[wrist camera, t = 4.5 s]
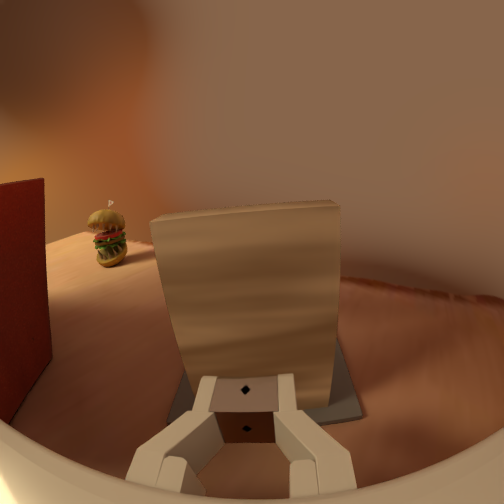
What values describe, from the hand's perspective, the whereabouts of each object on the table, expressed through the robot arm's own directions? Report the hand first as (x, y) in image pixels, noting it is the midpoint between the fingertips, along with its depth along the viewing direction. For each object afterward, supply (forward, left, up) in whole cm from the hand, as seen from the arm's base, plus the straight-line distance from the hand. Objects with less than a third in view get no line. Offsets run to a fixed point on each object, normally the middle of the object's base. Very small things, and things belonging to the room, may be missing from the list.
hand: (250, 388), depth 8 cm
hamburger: (-47, +6, -7) cm, 48 cm away
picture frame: (-4, +4, -7) cm, 9 cm away
